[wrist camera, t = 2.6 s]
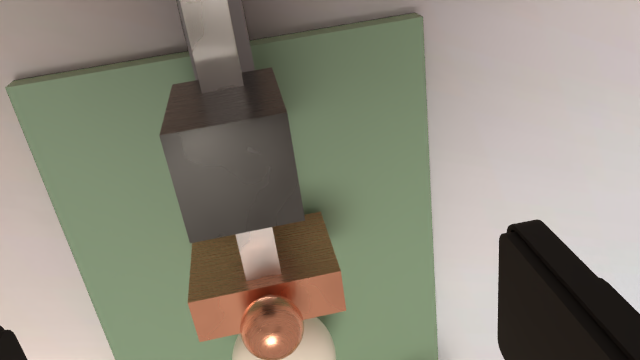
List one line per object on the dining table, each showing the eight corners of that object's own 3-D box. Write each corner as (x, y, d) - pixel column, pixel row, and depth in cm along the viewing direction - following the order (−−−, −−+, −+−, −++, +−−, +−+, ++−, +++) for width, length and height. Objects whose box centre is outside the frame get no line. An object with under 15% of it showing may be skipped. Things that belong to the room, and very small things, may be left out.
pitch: (-22, -9, 21) (-121, 27, 15) (410, -75, 23) (484, -69, 16) (180, 503, 35) (172, 630, 29) (436, 442, 37) (481, 550, 31)
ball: (221, 296, 28) (222, 370, 23) (319, 276, 28) (338, 344, 24) (241, 369, 30) (245, 449, 26) (331, 349, 31) (350, 424, 26)
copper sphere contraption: (114, -42, 20) (63, -16, 13) (278, -67, 21) (308, -54, 14) (203, 275, 26) (198, 398, 20) (326, 250, 27) (362, 362, 20)
